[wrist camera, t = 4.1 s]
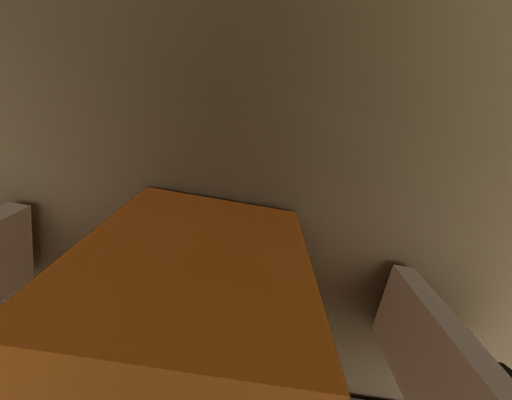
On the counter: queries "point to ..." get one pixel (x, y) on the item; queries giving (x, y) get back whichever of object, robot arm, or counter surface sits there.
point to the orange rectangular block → (174, 310)
